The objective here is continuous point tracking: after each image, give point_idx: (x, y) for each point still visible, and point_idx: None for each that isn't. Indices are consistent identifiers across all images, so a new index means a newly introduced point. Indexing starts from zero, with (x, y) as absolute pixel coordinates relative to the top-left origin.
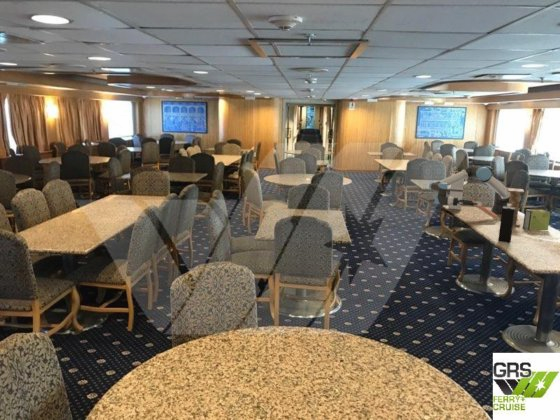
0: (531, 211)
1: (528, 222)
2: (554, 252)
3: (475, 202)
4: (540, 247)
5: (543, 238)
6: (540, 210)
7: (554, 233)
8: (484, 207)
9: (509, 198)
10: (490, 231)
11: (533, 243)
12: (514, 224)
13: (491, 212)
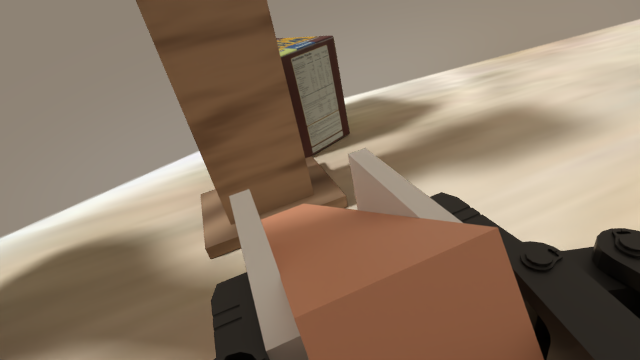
0: (325, 37)
1: (335, 103)
2: (581, 35)
3: (450, 215)
4: (581, 49)
5: (443, 84)
6: None
7: None
8: (297, 224)
9: (154, 32)
10: (634, 161)
11: (561, 64)
12: (310, 171)
13: (313, 205)
